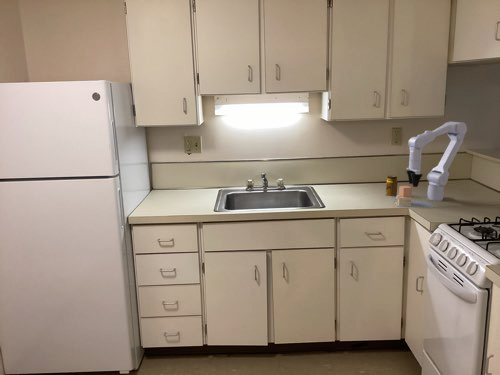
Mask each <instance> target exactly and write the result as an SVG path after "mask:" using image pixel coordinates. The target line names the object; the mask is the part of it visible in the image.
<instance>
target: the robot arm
mask: <svg viewBox="0 0 500 375" xmlns="http://www.w3.org/2000/svg"><path fill="white" fill-rule="evenodd" d="M467 131H468V127H467V124H466V123H465V122H463V121H461V122H460V121H459V122H458V121H447V122H444V124H441V126H439V127H437V128H435V129H434V130H425V131H424V133H421V134H417V136H412V137H410V139H409V140H408V142H407V145H408V147H409V148H408V149H409V162H408V167H406V170H405V172H406V174H407V178H408V184H410V185H412V186H413V187H414V188H418V186H419V183H420V180H421V179H422V177H423V175H424V174H423V173H421V170H422V168H421V167H422V165H421V164H422V151H423V150H422V149H423V148H424V147H425V146H426V145H427V144H429V143H431V142H432V141H435V139H436V137H438V136H441V135H443V134H445V133H446V134H447V136H448V138H449V139H450V141H449V144H448V146H447V148H446V149H445V151H444V153H443V156H441V159H440V161H439V162H438V164H437V166H435V167H433V168H432V169H431V170H430V172H428V174H427V176H426V180H427V182H428V184H429V185H427V193H426V197H427V199H428V200H430V201H435V202H436V201H437V202H440V201H444V200H443V199H444V189H445V186H446V184H447V183H448V180H449V176H450V172H449V171H448V169H449V168H450V166H451V165H452V163H453V161H454V159H455V158H456V155H457V153H458V152H459V149H460V148H461V145H462V144H463V142H464V138H465V136H466V133H467ZM413 187H412V188H413Z"/></svg>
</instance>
